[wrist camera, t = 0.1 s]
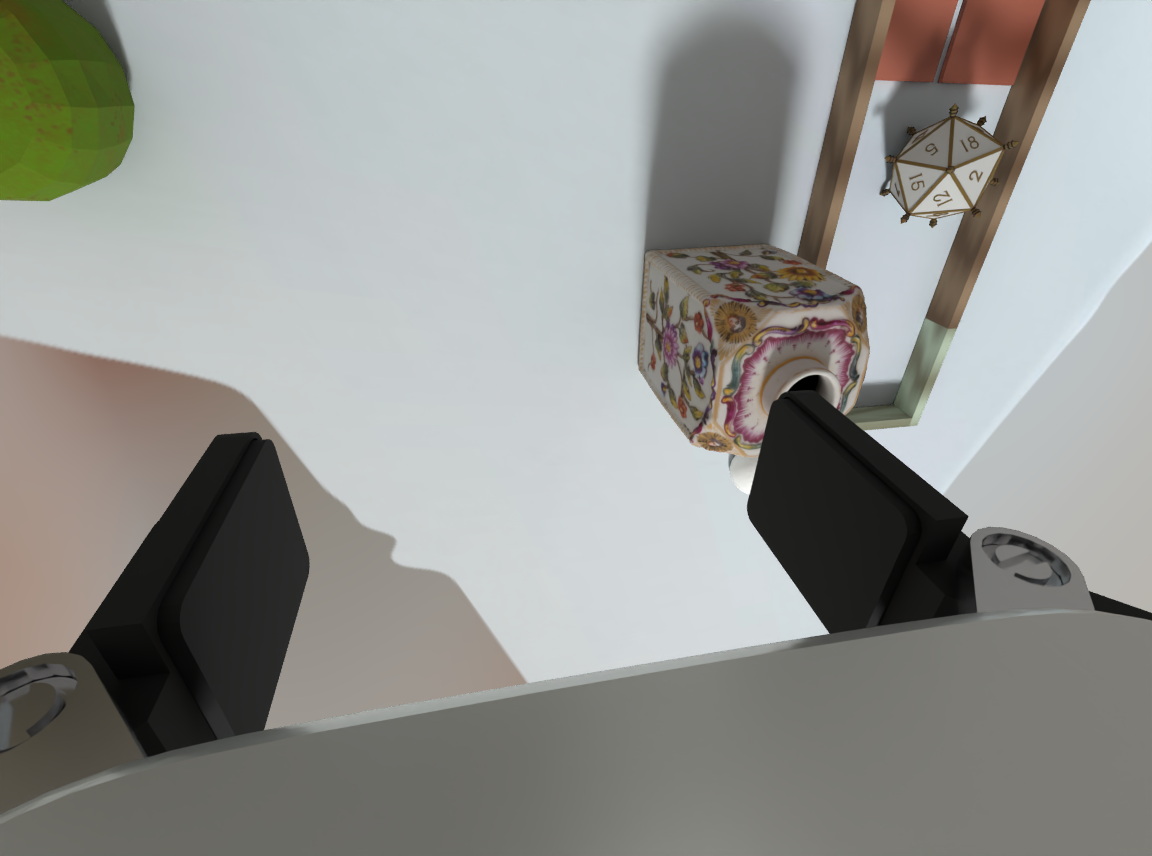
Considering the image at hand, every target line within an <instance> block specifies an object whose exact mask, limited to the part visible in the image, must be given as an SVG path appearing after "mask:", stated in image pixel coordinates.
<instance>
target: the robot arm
mask: <svg viewBox="0 0 1152 856" xmlns="http://www.w3.org/2000/svg"><path fill="white" fill-rule="evenodd" d="M747 512H748V516H749V519H750V521H751V523H752V524H753V525H754V527H755V528H756V530H757V531H758V532H759V534H760V535H761V537H762V538H763V540H764V541H765V542H766V544H767V545H768V547H769V548H770V550H771V551H772V552H773V554H774V555H775V557H776V558H777V559H778V561H779V562H780V564H781V565H782V567H783V568H784V569H785V571H786V572H787V574H788V575H789V576H790V578H791V579H792V581H793V582H794V584H795V585H796V586H797V588H798V589H799V591H800V592H801V594H802V595H803V596H804V598H805V599H806V601H807V602H808V603H809V605H810V606H811V608H812V609H813V611H814V612H815V613H816V615H817V616H818V618H819V619H820V621H821V622H822V623H823V625H824V626H825V628H826V629H827V630H828V632H829V633H830V634H827V635H820V636H814V637H808V638H801V639H795V640H789V641H783V642H776V643H770V644H764V645H758V646H751V647H745V648H739V649H733V650H727V651H720V652H714V653H708V654H702V655H696V656H690V657H684V658H678V659H672V660H666V661H660V662H654V663H647V664H641V665H635V666H629V667H623V668H617V669H611V670H605V671H599V672H593V673H587V674H581V675H575V676H569V677H563V678H557V679H551V680H545V681H539V682H534V683H528V684H522V685H516V686H511V687H504V688H499V689H493V690H487V691H481V692H475V693H469V694H464V695H458V696H452V697H447V698H440V699H435V700H428V701H423V702H417V703H411V704H405V705H399V706H393V707H387V708H382V709H376V710H370V711H365V712H359V713H354V714H348V715H343V716H338V717H332V718H327V719H322V720H317V721H311V722H306V723H300V724H295V725H290V726H284V727H279V728H274V729H269V730H264V728H265V724H266V721H267V717H268V714H269V711H270V707H271V704H272V700H273V697H274V693H275V689H276V686H277V682H278V679H279V676H280V672H281V669H282V665H283V662H284V658H285V654H286V651H287V648H288V644H289V641H290V637H291V634H292V631H293V627H294V623H295V620H296V617H297V613H298V610H299V606H300V603H301V599H302V596H303V592H304V589H305V585H306V582H307V578H308V574H309V556H308V552H307V549H306V545H305V542H304V539H303V536H302V532H301V529H300V526H299V523H298V519H297V517H296V514H295V510H294V507H293V504H292V500H291V497H290V494H289V491H288V487H287V484H286V481H285V478H284V475H283V471H282V468H281V465H280V462H279V458H278V455H277V452H276V449H275V446H274V444H273V442H272V441H271V440H269V439H266V440H262V438H261V437H260V435H259V434H258V433H256V432H248V433H236V434H222V435H217V436H216V437H215V438H214V440H213V441H212V442H211V444H210V445H209V447H208V448H207V450H206V451H205V453H204V455H203V456H202V457H201V459H200V460H199V462H198V463H197V465H196V466H195V468H194V469H193V471H192V472H191V474H190V475H189V477H188V478H187V480H186V481H185V483H184V484H183V486H182V487H181V489H180V490H179V492H178V493H177V495H176V496H175V498H174V499H173V500H172V502H171V504H170V505H169V507H168V508H167V510H166V511H165V512H164V514H163V515H162V517H161V518H160V520H159V521H158V522H157V523H156V524H155V525H154V527H153V528H152V530H151V531H150V533H149V534H148V535H147V537H146V538H145V540H144V541H143V543H142V544H141V546H140V547H139V549H138V550H137V552H136V553H135V555H134V556H133V558H132V559H131V561H130V562H129V564H128V565H127V566H126V568H125V569H124V571H123V572H122V574H121V575H120V577H119V579H118V580H117V581H116V583H115V584H114V586H113V587H112V589H111V590H110V592H109V593H108V595H107V596H106V598H105V599H104V601H103V602H102V604H101V605H100V607H99V608H98V610H97V611H96V613H95V614H94V615H93V617H92V618H91V620H90V621H89V623H88V624H87V626H86V627H85V629H84V630H83V632H82V633H81V635H80V636H79V638H78V639H77V641H76V642H75V644H74V645H73V647H72V648H71V650H70V651H69V652H68V653H67V652H61V653H48V654H42V655H39V656H35V657H32V658H28V659H24V660H21V661H19V662H16V663H14V664H12V665H9V666H7V667H5V668H3V669H0V856H1152V613H1150V612H1147V611H1144V610H1142V609H1139V608H1136V607H1133V606H1130V605H1127V604H1124V603H1122V602H1119V601H1116V600H1113V599H1110V598H1107V597H1105V596H1101V595H1099V594H1096V593H1093V592H1090V591H1088V588H1087V585H1086V582H1085V579H1084V576H1083V575H1082V573H1081V571H1080V569H1079V568H1078V566H1077V565H1076V564H1075V563H1074V562H1073V561H1072V560H1071V559H1070V558H1069V557H1068V556H1067V555H1065V554H1064V553H1063V552H1061V551H1060V550H1058V549H1057V548H1055V547H1054V546H1052V545H1050V544H1049V543H1047V542H1045V541H1042V540H1041V539H1039V538H1037V537H1034V536H1032V535H1028V534H1026V533H1023V532H1020V531H1017V530H1012V529H1007V528H1000V527H987V528H982V529H978V530H977V531H976V532H975V533H973V534H972V535H971V537H970V538H969V537H967V536H966V535H965V534H964V533H963V532H962V531H961V530H962V528H963V526H964V524H965V522H966V520H967V518H968V515H966V514H965V513H964V512H963V511H961V510H960V509H959V508H958V507H956V506H955V505H954V504H953V503H951V502H950V501H949V500H948V499H947V498H945V497H944V496H943V495H942V494H941V493H939V492H938V491H937V490H936V489H934V488H933V487H932V486H931V485H930V484H928V483H927V482H926V481H925V480H923V479H922V478H921V477H920V476H919V475H917V474H916V473H915V472H914V471H912V470H911V469H910V468H909V467H907V466H906V465H905V464H904V463H903V462H901V461H900V460H899V459H898V458H896V457H895V456H894V455H893V454H892V453H890V452H889V451H888V450H887V449H885V448H884V447H883V446H882V445H881V444H879V443H878V442H877V441H876V440H874V439H873V438H872V437H871V436H870V435H868V434H867V433H866V432H865V431H863V430H862V429H861V428H860V427H858V426H857V425H856V424H855V423H854V422H852V421H851V420H850V419H849V418H847V417H846V416H845V415H844V414H843V413H841V412H840V411H839V410H838V409H836V408H835V407H834V406H833V405H832V404H830V403H829V402H828V401H827V400H825V399H824V398H823V397H822V396H821V395H819V394H818V393H817V392H815V391H813V390H803V391H790V392H784V393H782V394H781V395H780V396H779V398H778V399H777V400H775V401H773V403H772V404H771V407H770V411H769V415H768V420H767V424H766V428H765V432H764V436H763V440H762V445H761V449H760V453H759V457H758V461H757V465H756V470H755V474H754V478H753V482H752V486H751V491H750V495H749V499H748V503H747Z"/></svg>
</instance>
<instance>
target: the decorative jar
mask: <svg viewBox="0 0 1152 856" xmlns="http://www.w3.org/2000/svg"><path fill="white" fill-rule="evenodd" d="M644 268H645V273H644V284H643V299H642V317H641V329H640V347H639V348H640V350H639V371H640V372H641V374H642V375H643V377H644V378H645V380H646V381H647V383H648V385H649V386H650V388H651V389H652V391H653V392H654V394H655V395H656V397H657V398H658V399H659V401H660V403H661V404H662V405H663V407H664V408H665V409H666V411H667V412H668V413H669V415H670V416H671V418H672V419H673V420H674V422H675V423H676V424H677V426H678V427H679V428H680V429H681V431H682V432H683V433H684V434H685V436H686V437H687V438H688V439H689V441H690V443H691V444H692V445H694V446H697V447H703V448H705V449H706V450H710V451H717V452H726V453H730V454H735V455H738V456H743V457H748V458H752V457H759V453H760V449H761V445H762V440H763V436H764V432H765V428H766V424H767V420H768V415H769V411H770V407H771V404H772V403H773V401H775V400H777V399H778V398H779V396H780V395H781V394H782V393H784V392H790V391H803V390H813V391H815V392H817V393H818V394H819V395H821V396H822V397H823V398H824V399H825V400H827V401H828V402H829V403H830V404H832V405H833V406H834V407H835V408H836V409H838V410H839V411H840V412H841V413H843V414H844V415H846V414H847V413H848V412H849V411H850V410H851V409H852V408H853V407H854V406H855V404H856V401H857V398H858V395H859V392H860V389H861V386H862V383H863V381H864V378H865V373H866V369H867V363H868V359H869V354H870V346H869V339H868V333H867V317H866V314H867V313H866V305H865V302H864V300H865V299H864V295H863V292H862V290H861V289H860V287H859V286H857V285H855V284H853V283H851V282H849V281H847V280H845V279H843V278H842V277H839V276H838V275H836V274H833V273H832V272H829V271H827V270H825V269H823V268H821V267H818V266H816V265H814V264H812V263H810V262H808V261H806V260H804V259H802V258H800V257H798V256H796V255H794V254H792V253H789V252H786V251H784V250H782V249H779V248H776V247H774V246H771V245H768V244H757V245H742V246H724V247H704V248H688V249H674V250H651V251H648V252H646V253H645V267H644Z"/></svg>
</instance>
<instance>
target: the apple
mask: <svg viewBox="0 0 1152 856" xmlns="http://www.w3.org/2000/svg"><path fill="white" fill-rule="evenodd" d="M133 121H134V103H133V100H132V96H131V93H130V90H129V87H128V84H127V81H126V77H125V74H124V71H123V68H122V67H121V65H120V64H119V62H118V61H117V59H116V58H115V56H114V54H113V53H112V51H111V50H110V48H109V47H108V45H107V44H106V42H105V41H104V39H103V38H102V36H101V35H100V33H99V32H98V30H97V29H96V28H95V27H93V26H92V25H91V24H90V23H89V22H87V21H86V20H85V19H84V18H83V17H81V16H80V15H79V14H78V13H77V12H75V11H74V10H73V9H72V8H70V7H69V6H68V5H67V4H66V3H64V2H63V1H62V0H0V200H21V201H50V200H53V199H55V198H58V197H60V196H63V195H65V194H68V193H70V192H73V191H75V190H77V189H79V188H82V187H84V186H86V185H89V184H91V183H93V182H95V181H98V180H100V179H102V178H104V177H106V176H108V175H109V174H110V173H111V172H112V171H113V170H115V169H116V168H117V167H118V166H119V165H120V164H121V162H122V160H123V158H124V156H125V153H126V151H127V149H128V147H129V144H130V142H131V140H132V137H133Z"/></svg>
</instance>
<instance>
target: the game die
mask: <svg viewBox="0 0 1152 856" xmlns="http://www.w3.org/2000/svg"><path fill="white" fill-rule="evenodd" d="M958 109H959V107H957V105H956V103H955V104H954V105H953V106H952V108H950V109H949V110H950V112H949V113H950V117H948V118H946V119H944V120H942V121H940V122H938V123H936V124H934V125H932V126H930V127H927V128H925V129H923V130H921V131H919V132H917V133H916V132H915V131H916V129H914V127H913V128H912V127H908V132H907V133H909V135H912V137H911V138H910V140H909V141H908V142H907V144H906V145H905V146H904V148H903V149H902V150H901V152H900V153H899V154H898V156H897V157H896V158H895V157H894V156H891V155H889V156H888V157H886V158H885V160H886V161H887V163H888V162H889V163H894V164H893V170H892V177H891V183H890V189H885V190H882V192H881V193H880V195H882V196H885V195H888V194H889V193H891V194H892V195H893V197H894V198H895V199H896V200H897V202H898V203H899V204H900V206H901V207H902V208H903V209H904V211H905V212H906V214H905V215H903V217H902V218H901V224H902V223H904V222H907V220H908V219H909V216H910V215H911V216H917V217H923V218H929V219H932V220H931V221H930V224H929V225H930V226H931V227H932V228H933V227H934V226H935V225H937V223H936V222H937V220H936V219H937V218H942V217H946V216H950V215H954V214H959V213H963V212H967V211H972V214H973V217H979V218H980V216H981V211H979V209H977V208H976V206H977V204H978V202H979V201H980V199H981V197H982V196H983V194H984V192H985V190H986V189H987V187H988V185H989V184H991V185H993V186H995V185H997V184H999V183H1000V182H999V180H998V178H997V179H996V178H993V175H994V173H995V171H996V169H997V166H998V164H999V162H1000V160H1001V157H1002V155H1003V153H1004V151H1005V149H1011V148H1015V146H1016V145H1017V144H1018V143H1019V142H1020V141H1013V140H1012V141H1011V142H1008V143H1007V144H1005V145H1004V144H1002V143H1001V142H1000V141H999V140H997V139H996V138H995V137H993V136H992V135H991V134H990V133H988V132H987V131H986V130H985V129H983V128H982V127H981V126H982V125H984V123H985V122H987V121H986V116H985V117H982V118H980V119H979V120H978V122H977V124H975V123H972V122H970V121H967V120H965V119H962V118H960V117H957V116H956V114H957V112H958V111H957V110H958ZM992 178H993V179H992Z"/></svg>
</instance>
